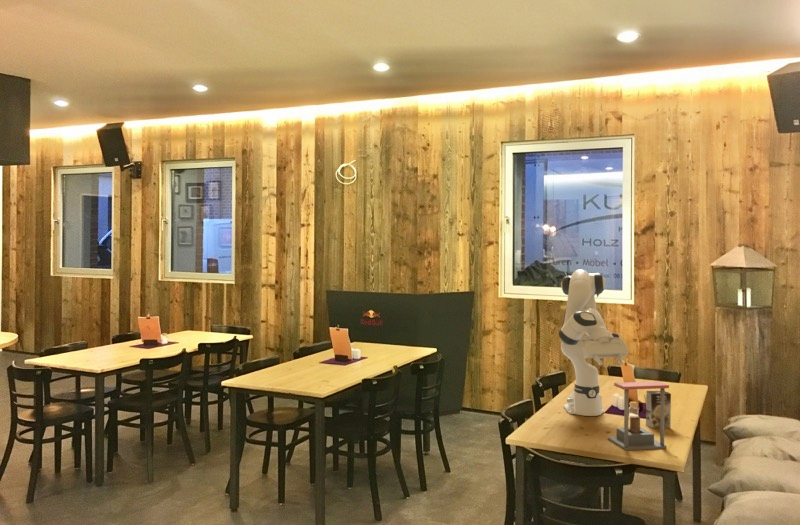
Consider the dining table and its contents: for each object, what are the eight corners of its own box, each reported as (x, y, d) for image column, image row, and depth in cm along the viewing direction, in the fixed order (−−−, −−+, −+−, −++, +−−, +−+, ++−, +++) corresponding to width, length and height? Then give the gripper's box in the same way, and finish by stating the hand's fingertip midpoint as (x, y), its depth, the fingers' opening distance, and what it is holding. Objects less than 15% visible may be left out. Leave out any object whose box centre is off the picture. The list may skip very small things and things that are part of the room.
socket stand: (605, 439, 266) (605, 379, 266) (648, 437, 269) (648, 377, 269) (623, 450, 251) (623, 386, 250) (668, 448, 254) (669, 385, 253)
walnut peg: (627, 439, 262) (627, 416, 262) (634, 438, 264) (634, 415, 264) (635, 442, 258) (635, 418, 258) (642, 441, 260) (642, 417, 260)
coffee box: (651, 428, 283) (651, 393, 283) (645, 424, 289) (645, 390, 289) (671, 428, 283) (671, 393, 283) (664, 424, 290) (664, 390, 289)
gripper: (581, 335, 279) (591, 360, 270) (623, 334, 282) (634, 359, 273) (577, 344, 284) (586, 368, 274) (618, 342, 287) (629, 367, 277)
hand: (611, 364), depth 273 cm, fingers open, 8 cm apart
